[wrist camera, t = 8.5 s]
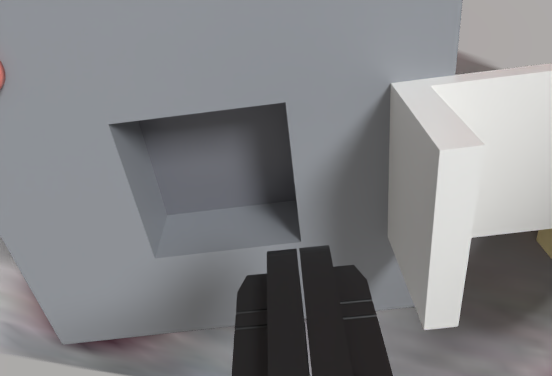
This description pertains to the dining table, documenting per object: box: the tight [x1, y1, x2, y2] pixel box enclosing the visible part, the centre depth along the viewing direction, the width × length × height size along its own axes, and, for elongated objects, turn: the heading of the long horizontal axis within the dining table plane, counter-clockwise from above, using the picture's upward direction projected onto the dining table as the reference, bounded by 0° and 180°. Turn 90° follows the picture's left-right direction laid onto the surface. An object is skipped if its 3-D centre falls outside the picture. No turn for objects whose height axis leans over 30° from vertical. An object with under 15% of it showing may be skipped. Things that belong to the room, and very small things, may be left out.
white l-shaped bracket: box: [388, 63, 552, 330], centre depth 13 cm, size 6×6×4 cm
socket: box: [0, 0, 463, 345], centre depth 17 cm, size 14×16×4 cm
